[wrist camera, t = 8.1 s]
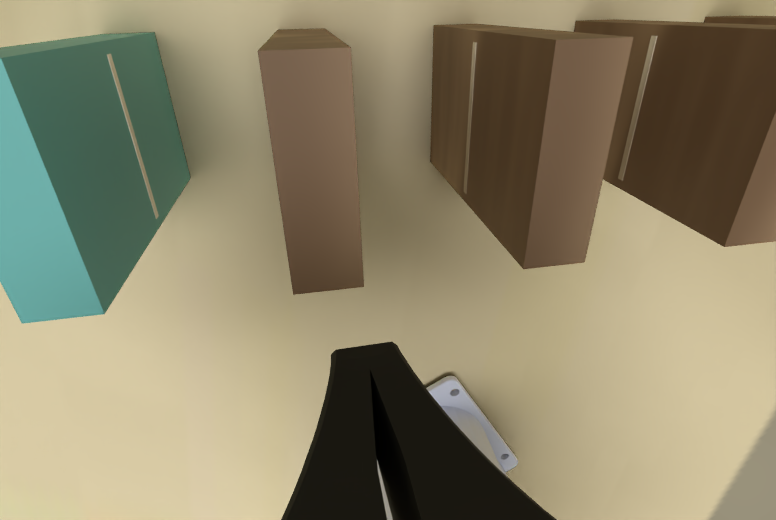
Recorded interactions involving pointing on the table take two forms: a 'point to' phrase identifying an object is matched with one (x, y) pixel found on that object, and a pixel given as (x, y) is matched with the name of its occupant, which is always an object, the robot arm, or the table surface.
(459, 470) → the robot arm
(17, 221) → the domino
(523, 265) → the domino
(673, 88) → the domino
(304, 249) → the domino
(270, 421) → the table surface
